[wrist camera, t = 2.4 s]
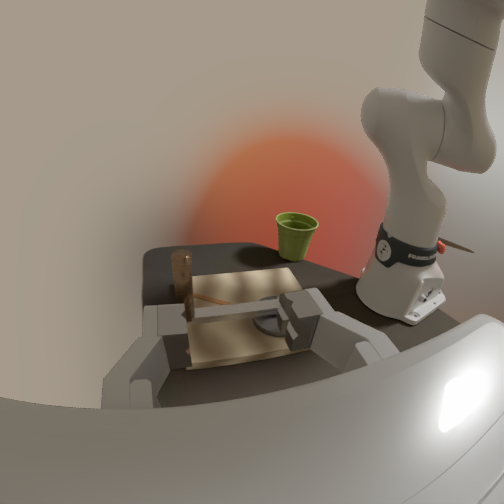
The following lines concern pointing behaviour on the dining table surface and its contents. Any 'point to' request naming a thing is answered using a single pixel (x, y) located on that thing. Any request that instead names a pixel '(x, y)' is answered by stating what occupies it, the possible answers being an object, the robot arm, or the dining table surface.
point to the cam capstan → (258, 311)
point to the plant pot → (295, 234)
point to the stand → (240, 330)
